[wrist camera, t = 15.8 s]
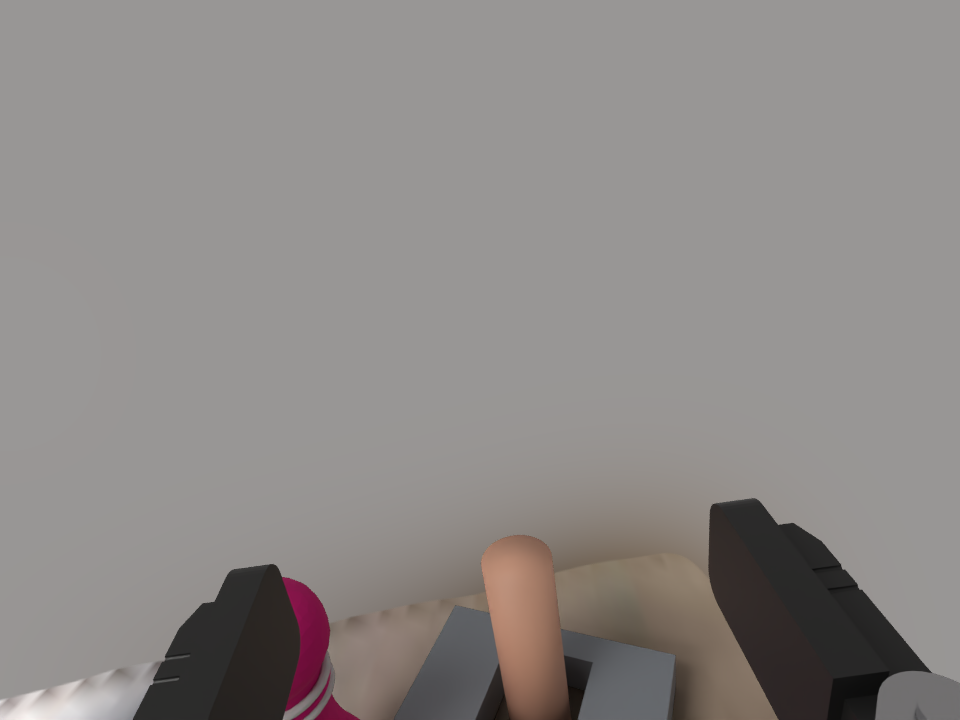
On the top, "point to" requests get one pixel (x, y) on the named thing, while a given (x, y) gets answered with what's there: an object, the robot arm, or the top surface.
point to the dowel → (527, 627)
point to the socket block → (588, 663)
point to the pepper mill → (312, 661)
